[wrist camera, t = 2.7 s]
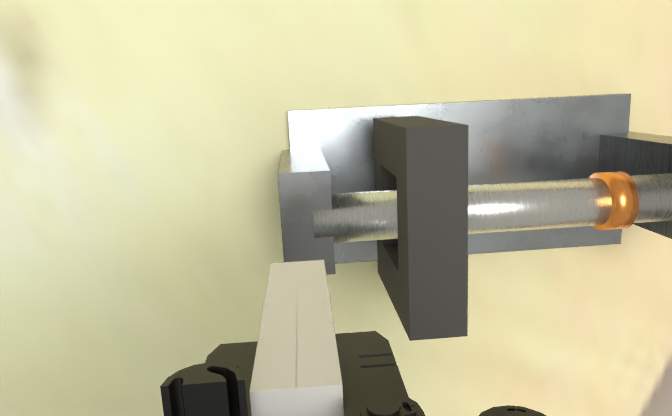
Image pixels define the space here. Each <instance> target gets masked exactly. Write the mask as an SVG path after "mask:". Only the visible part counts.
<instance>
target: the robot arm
mask: <svg viewBox="0 0 672 416" xmlns="http://www.w3.org/2000/svg"><path fill="white" fill-rule="evenodd" d="M160 388H161V395H162V403H163V411H164V416H425V414H424V412H423V410H422V409H421V407H420V406H419V405H418V403H417V402H415V401H413V400H412V399H410V398H409V397H408V394H407V392H406V389H405V386H404V383H403V380H402V378H401V375H400V372H399V369H398V366H397V365H396V361H395V358H394V355H393V353H392V350H391V347H390V344H389V341H388V340H387V339H385V338H384V337H383V336H381V335H380V334H379V333H377V332H376V331H370V332H356V333H343V334H335V331H334V324H333V317H332V311H331V304H330V297H329V290H328V284H327V277H326V270H325V263H324V260H313V261H297V262H282V263H271V264H270V270H269V276H268V282H267V288H266V294H265V300H264V307H263V313H262V319H261V325H260V331H259V337H258V341H257V342H244V343H230V344H220V345H219V346H218V347H217V348H216V349H215V350H214V351H213V352H212V353H210V354H209V355H208V356H207V359H206V362H205V363H204V364H198V365H193V366H190V367H188V368H185V369H182V370H179V371H178V372H176V373H174V374H173V375H171V376H170V377H168V378H167V379H166V380H165V382H164V383H163V384H162V385H161V386H160ZM479 416H546V415H544V414H542V413H540V412H537V411H534V410H531V409H528V408H525V407H520V406H500V407H493V408H490V409H488V410H486V411H483V412H482V413H481V414H480V415H479Z"/></svg>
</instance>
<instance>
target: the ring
mask: <svg viewBox="0 0 672 416" xmlns="http://www.w3.org/2000/svg"><path fill="white" fill-rule="evenodd" d="M468 127H469V125H466V124H460V123H455V122H449V121H444V120H438V119H433V118H427V117H422V116H403V117H384V118H373V133H374V164H375V191H387V190H397V225H398V239H386V240H377V258H378V273H379V275H380V277H381V280H382V282H383V284H384V286H385V288H386V290H387V292H388V295H389V297H390V299H391V301H392V303H393V305H394V307H395V310H396V312H397V314H398V316H399V318H400V320H401V322H402V325H403V327H404V329H405V331H406V333H407V335H408V337H409V339H410V340H423V339H436V338H448V337H461V336H467V305H468Z"/></svg>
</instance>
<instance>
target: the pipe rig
mask: <svg viewBox="0 0 672 416" xmlns="http://www.w3.org/2000/svg"><path fill="white" fill-rule="evenodd" d="M630 101H631V94H609V95H589V96H570V97H550V98H530V99H510V100H490V101H470V102H450V103H430V104H411V105H391V106H371V107H351V108H331V109H311V110H291V111H288V124H289V140H290V150H287V151H282V156H281V161H280V165H279V170H278V184H279V198H280V212H281V226H282V240H283V254H284V262H297V261H313V260H324V263H325V270H326V274H335V263H347V262H361V261H376V260H378V258H377V240H386V239H398V225H397V190H387V191H375V164H374V133H373V118H384V117H403V116H422V117H427V118H433V119H438V120H444V121H449V122H455V123H460V124H466V125H469V127H468V254H477V253H492V252H506V251H521V250H535V249H550V248H565V247H579V246H594V245H608V244H621V232H622V229H625V228H628V227H630V226H631V225H632V224H635V225H637V226H640V227H642V228H645V229H647V230H650V231H653V232H655V233H658V234H660V235H663V236H666V237H668V238H671V239H672V137H670V136H661V135H653V134H644V133H635V132H628V130H629V115H630Z"/></svg>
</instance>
